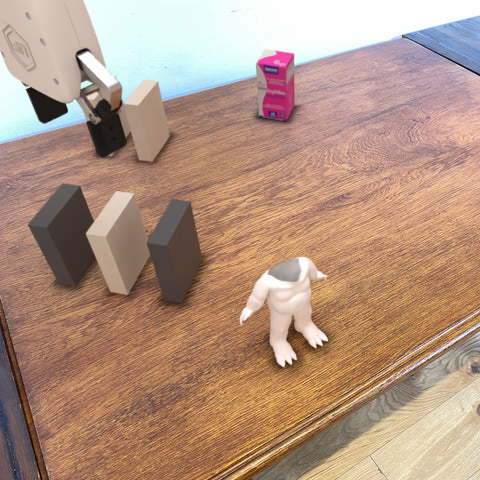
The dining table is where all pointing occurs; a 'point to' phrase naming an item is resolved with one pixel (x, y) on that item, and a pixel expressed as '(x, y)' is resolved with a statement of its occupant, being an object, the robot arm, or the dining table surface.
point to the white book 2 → (120, 242)
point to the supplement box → (275, 84)
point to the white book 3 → (147, 120)
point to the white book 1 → (96, 98)
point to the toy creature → (287, 304)
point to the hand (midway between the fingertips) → (82, 133)
